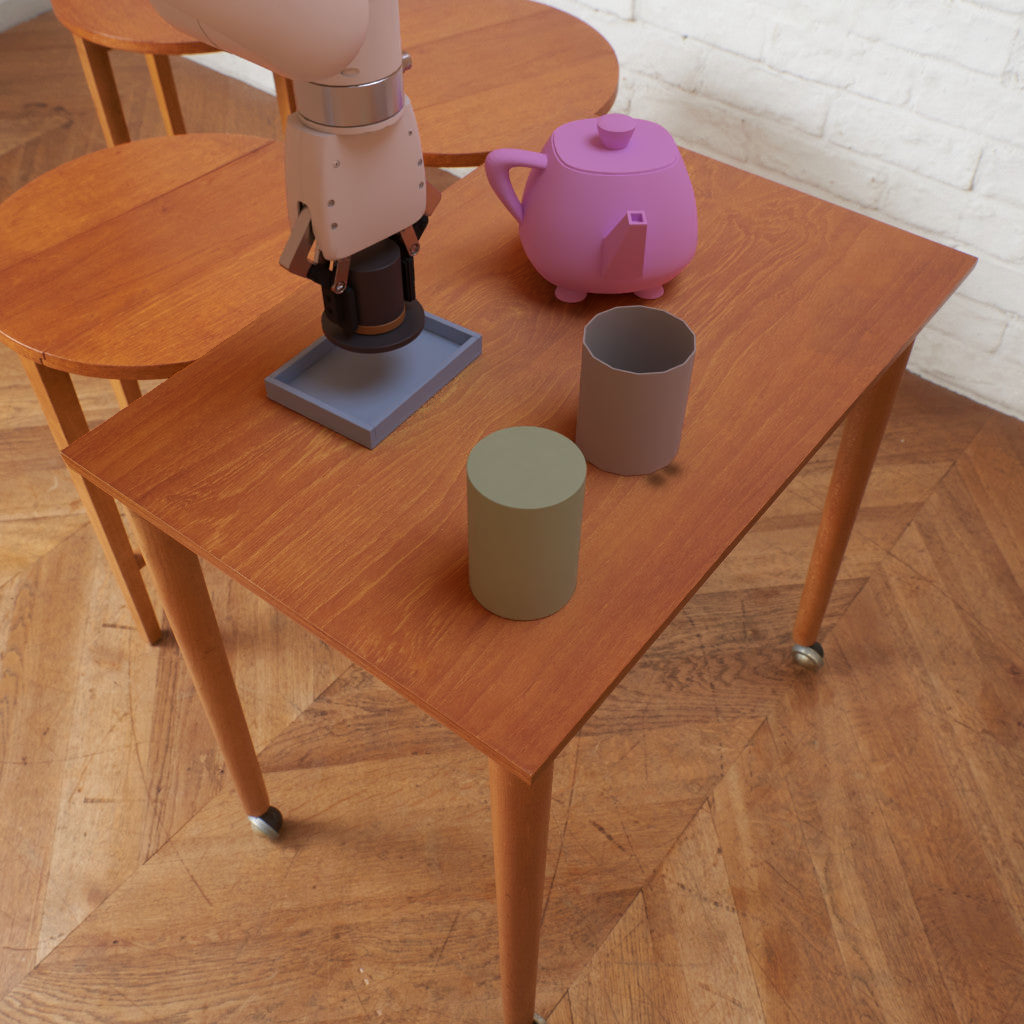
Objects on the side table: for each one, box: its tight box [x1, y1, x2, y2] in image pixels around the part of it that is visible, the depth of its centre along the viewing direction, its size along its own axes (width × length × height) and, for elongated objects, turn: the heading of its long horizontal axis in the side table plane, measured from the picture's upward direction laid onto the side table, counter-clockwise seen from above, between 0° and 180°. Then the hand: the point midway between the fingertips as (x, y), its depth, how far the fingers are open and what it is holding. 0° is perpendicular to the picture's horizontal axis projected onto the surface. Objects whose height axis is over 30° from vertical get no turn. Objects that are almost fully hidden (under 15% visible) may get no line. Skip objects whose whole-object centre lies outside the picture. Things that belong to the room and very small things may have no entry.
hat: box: [320, 238, 425, 354], centre depth 83 cm, size 8×8×7 cm
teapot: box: [484, 113, 699, 304], centre depth 94 cm, size 20×20×15 cm
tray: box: [263, 310, 483, 450], centre depth 89 cm, size 15×11×2 cm
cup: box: [574, 304, 697, 477], centre depth 81 cm, size 8×8×10 cm
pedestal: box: [465, 425, 588, 621], centre depth 70 cm, size 8×8×11 cm
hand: (371, 307), depth 85 cm, fingers closed on hat, 5 cm apart
